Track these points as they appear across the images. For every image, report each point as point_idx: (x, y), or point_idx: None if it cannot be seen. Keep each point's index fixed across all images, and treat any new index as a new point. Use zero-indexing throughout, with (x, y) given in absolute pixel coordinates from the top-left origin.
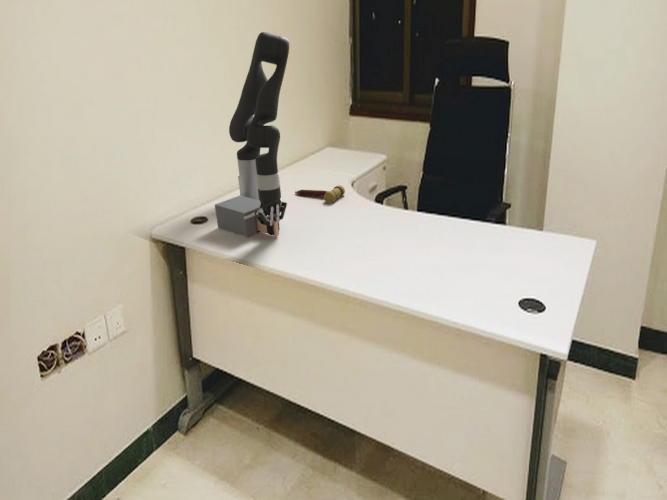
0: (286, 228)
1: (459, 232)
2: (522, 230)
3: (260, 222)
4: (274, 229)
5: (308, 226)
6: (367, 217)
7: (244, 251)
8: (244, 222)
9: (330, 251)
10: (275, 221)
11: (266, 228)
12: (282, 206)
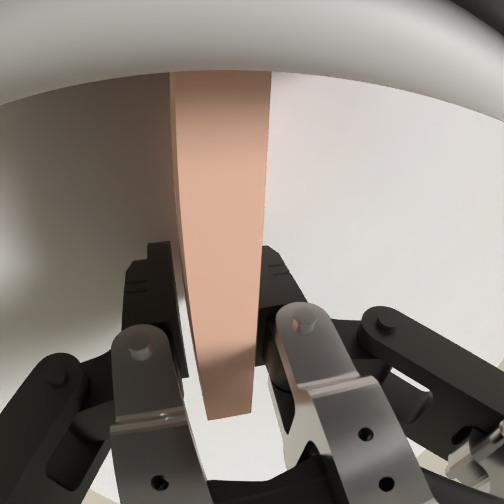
0: (383, 195)
1: (415, 443)
2: (425, 448)
3: (19, 389)
4: (191, 336)
5: (434, 277)
6: (494, 335)
7: None
8: None
9: (236, 465)
10: (243, 399)
11: (176, 204)
12: (450, 476)
